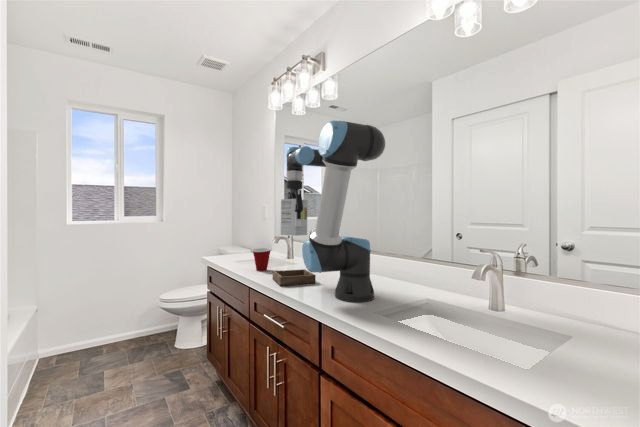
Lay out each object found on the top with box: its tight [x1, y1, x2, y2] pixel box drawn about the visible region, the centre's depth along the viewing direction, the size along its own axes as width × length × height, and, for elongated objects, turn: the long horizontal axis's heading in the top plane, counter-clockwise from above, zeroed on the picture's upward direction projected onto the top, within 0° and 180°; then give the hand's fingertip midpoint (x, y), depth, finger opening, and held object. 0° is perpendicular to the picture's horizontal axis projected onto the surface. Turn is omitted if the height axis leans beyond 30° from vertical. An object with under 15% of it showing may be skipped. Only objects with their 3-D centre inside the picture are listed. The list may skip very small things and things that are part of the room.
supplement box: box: [280, 198, 309, 237], centre depth 144 cm, size 10×9×17 cm
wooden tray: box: [272, 268, 316, 288], centre depth 144 cm, size 15×16×4 cm
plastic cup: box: [251, 247, 272, 272], centre depth 172 cm, size 11×11×12 cm
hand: (294, 226), depth 144 cm, fingers closed on supplement box, 12 cm apart
